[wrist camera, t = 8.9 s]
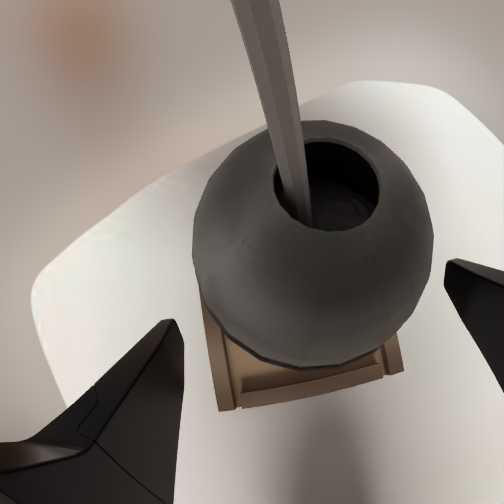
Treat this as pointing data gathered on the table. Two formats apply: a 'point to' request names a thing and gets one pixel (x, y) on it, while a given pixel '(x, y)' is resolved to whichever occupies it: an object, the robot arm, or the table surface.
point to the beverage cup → (307, 227)
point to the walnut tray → (284, 372)
